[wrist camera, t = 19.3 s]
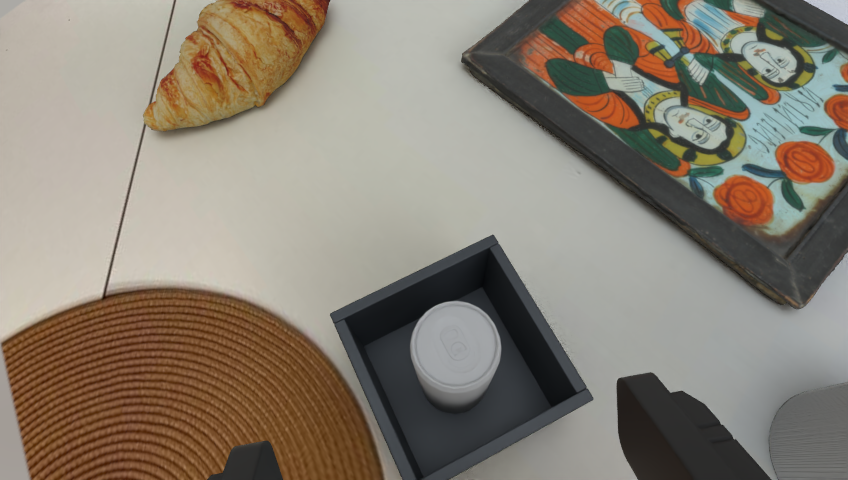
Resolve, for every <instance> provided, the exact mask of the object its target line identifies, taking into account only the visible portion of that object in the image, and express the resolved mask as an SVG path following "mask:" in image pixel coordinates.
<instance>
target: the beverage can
mask: <svg viewBox="0 0 848 480" xmlns="http://www.w3.org/2000/svg"><path fill="white" fill-rule="evenodd" d="M410 352H411V359H412V362H413V365H414V368H415V371H416V374H417V377H418V380H419V382H420V385H421V388H422V391H423V394H424V395H425V397H426V399H427V400H428V402H429V403H430V404H432V405H433V406H434V407H435V408H437V409H439V410H441V411H443V412H446V413H451V414H456V413H463V412H466V411H469V410H471V409H472V408H473V407H475V406H476V405H478V403H479V402H480V401H481V400H482V398H483V397H484V395H485V393H486V390H487V388H488V386H489V384H490V382H491V380H492V378H493V376H494V374H495V371H496V369H497V367H498V364H499V362H500V356H501V341H500V336H499V334H498V331H497V329H496V326H495V324H494V323H493V321H492V320H491V319H490V317H489V316H488V315H487V314H486V313H485V312H484V311H482V310H481V309H480V308H479V307H476V306H474V305H472V304H470V303H466V302H460V301H451V302H444V303H441V304H439V305H436V306H434V307H433V308H431V309H430V310H428V311H427V312H426V313H425V314H424V315H423V316H422V317H421V318H420V319H419V321H418V322H417V324H416V326H415V328H414V330H413V332H412V337H411V342H410Z"/></svg>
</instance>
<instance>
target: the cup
mask: <svg viewBox="0 0 848 480" xmlns="http://www.w3.org/2000/svg"><path fill="white" fill-rule="evenodd" d="M769 441H770V442H769V445H770V447H769V448H770V453H771V454H770V455H771V459H772V463H773V467H774V470H775V471H776V472H775V473H776V474H777V476H778V479H779V480H848V382H846V383H842V384H837V385H833V386H828V387H824V388H819V389H814V390H810V391H806V392H803V393H801V394H798V395H796V396H794V397H793V398H790V400H788V401H787V402H786V403H785V404H783V406H782V407H781V408H780V409H779V411H778V413H777V415H776V416H775V418H774V421H773V423H772V426H771V430H770V438H769Z"/></svg>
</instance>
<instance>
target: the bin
mask: <svg viewBox="0 0 848 480" xmlns="http://www.w3.org/2000/svg"><path fill="white" fill-rule="evenodd" d="M451 301H460V302H466V303H470V304H472V305H474V306H476V307H479V308H480V309H481V310H482V311H484V312H485V313H486V314H487V315H488V316H489V317H490V319H491V320H492V321H493V323H494V324H495V326H496V329H497V331H498V334H499V336H500V341H501V356H500V362H499V364H498V367H497V369H496V371H495V374H494V376H493V378H492V380H491V382H490V384H489V386H488V388H487V390H486V393H485V395H484V397H483V398H482V400H481V401H480V402H479V403H478V405H476V406H475V407H473V408H472V409H471V410H469V411H466V412H463V413H456V414H451V413H446V412H443V411H441V410H439V409H437V408H435V407H434V406H433V405H432V404H430V403H429V402H428V400H427V399H426V397H425V395H424V394H423V391H422V388H421V385H420V382H419V380H418V377H417V374H416V371H415V368H414V365H413V362H412V359H411V352H410V342H411V337H412V332H413V330H414V328H415V326H416V324H417V322H418V321H419V319H420V318H421V317H422V316H423V315H424V314H425V313H426V312H427V311H428V310H430V309H431V308H433V307H434V306H436V305H439V304H441V303H444V302H451ZM330 316H331V318H332V320H333V323H334V324H335V327H336V329H337V332H338V334H339V336H340V339H341V341H342V343H343V345H344V348H345V350H346V352H347V354H348V357H349V359H350V361H351V364H352V366H353V368H354V370H355V373H356V375H357V377H358V379H359V382H360V384H361V386H362V389H363V391H364V393H365V395H366V398H367V400H368V402H369V404H370V407H371V409H372V411H373V414H374V416H375V418H376V420H377V423H378V425H379V427H380V429H381V432H382V434H383V436H384V439H385V441H386V443H387V445H388V448H389V450H390V452H391V454H392V457H393V459H394V461H395V464H396V466H397V468H398V470H399V473H400V475H401V477H402V479H403V480H449V479H451V478H453V477H454V476H456V475H458V474H460V473H462V472H463V471H465V470H467V469H469V468H471V467H472V466H474V465H476V464H478V463H480V462H482V461H483V460H485V459H487V458H489V457H491V456H492V455H494V454H496V453H498V452H500V451H501V450H503V449H505V448H507V447H509V446H511V445H512V444H514V443H516V442H518V441H520V440H521V439H523V438H525V437H527V436H529V435H530V434H532V433H534V432H536V431H538V430H539V429H541V428H543V427H545V426H547V425H549V424H550V423H552V422H554V421H556V420H558V419H559V418H561V417H563V416H565V415H567V414H568V413H570V412H572V411H574V410H576V409H578V408H579V407H581V406H583V405H585V404H587V403H588V402H590V401H592V400H593V397H592V395H591V393H590V392H589V390H588V389H586V388H587V387H586V385H585V383H584V382H583V380H582V379H581V377H580V375H579V374H578V372H577V370H576V369H575V367H574V365H573V364H572V362H571V361H570V359H569V357H568V356H567V354H566V352H565V351H564V349H563V347H562V346H561V344H560V343H559V341H558V339H557V338H556V336H555V334H554V333H553V331H552V329H551V328H550V326H549V325H548V323H547V321H546V320H545V318H544V316H543V315H542V313H541V312H540V310H539V308H538V307H537V305H536V303H535V302H534V300H533V298H532V297H531V295H530V294H529V292H528V290H527V289H526V287H525V285H524V284H523V282H522V280H521V279H520V277H519V276H518V274H517V272H516V271H515V269H514V267H513V266H512V264H511V262H510V261H509V259H508V258H507V256H506V254H505V253H504V251H503V249H502V248H501V246H500V244H498V241H497V239H496V238H495V236H494V235H491V236H489V237H487V238H485V239H483V240H481V241H479V242H477V243H475V244H472V245H470V246H468V247H466V248H464V249H462V250H460V251H458V252H456V253H454V254H452V255H450V256H448V257H446V258H444V259H442V260H440V261H437V262H435V263H433V264H431V265H429V266H427V267H425V268H423V269H421V270H419V271H417V272H415V273H413V274H411V275H409V276H407V277H404V278H402V279H400V280H398V281H396V282H394V283H392V284H390V285H388V286H386V287H384V288H382V289H380V290H378V291H376V292H374V293H372V294H369V295H367V296H365V297H363V298H361V299H359V300H357V301H355V302H353V303H351V304H349V305H347V306H345V307H343V308H341V309H339V310H337V311H334V312H332V313H331V314H330Z"/></svg>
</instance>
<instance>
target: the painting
mask: <svg viewBox="0 0 848 480" xmlns="http://www.w3.org/2000/svg"><path fill="white" fill-rule="evenodd" d="M461 62H462V63H465V64H466V65H467V66H469V67H470V70H471V73H472V74H473V75H474V76H475V77H476V78H477V79H479V80H480V81H481V82H483V83H484V84H486V85H487V86H488V87H490V88H491V89H492V90H494V91H495V92H496V93H497V94H499V95H500V96H501V97H503V98H504V99H506V100H507V101H509V102H510V103H512V104H513V105H515V106H516V107H518V108H519V109H521V110H522V111H523V112H525V113H526V114H528V115H529V116H531V117H532V118H533V119H535V120H536V121H537V122H539V123H540V124H541V125H543V126H544V127H546V128H547V129H548V130H550V131H551V132H552V133H554V134H555V135H557V136H558V137H559V138H561V139H562V140H563V141H565V142H566V143H567V144H569V145H570V146H571V147H573V148H574V149H576V150H577V151H579V152H580V153H582V154H584V155H585V156H587V157H588V158H590V159H591V160H593V161H594V162H595V163H597V164H598V165H599V166H601V167H602V168H603V169H605V170H606V171H607V172H608V173H609V174H610V175H611V176H612V177H614V178H616V179H617V180H618V182H619V183H620V184H622V185H623V186H625V187H626V188H628V189H630V190H631V191H633V192H634V193H636V194H638V195H639V196H640V197H642V198H643V199H644V200H646V201H647V202H648V203H650V204H651V205H652V206H653V207H655V208H656V209H658V210H659V211H661V212H662V213H663V214H665V215H666V216H667V217H668V218H669V219H671V220H672V221H673V222H675V223H676V224H677V225H678V226H680V227H681V228H682V229H684V230H685V231H686V232H687V233H688V234H690V235H691V236H692V237H693V238H694V239H696V240H697V241H698V242H700V243H701V244H702V245H703V246H704V247H706V248H707V249H708V250H709V251H711V252H712V253H713V254H714V255H716V256H717V257H718V258H720V259H721V260H722V261H723V262H724V263H726V264H727V265H728V266H730V267H731V268H732V269H734V270H735V271H736V272H738V273H739V274H740V275H741V276H742V277H743V278H745V279H746V280H747V281H749V282H750V283H751V284H752V285H753V286H755V287H756V288H758V289H759V290H760V291H761V292H763V293H764V294H766V295H767V296H768V297H770V298H771V299H772V300H774V301H775V302H777V303H778V304H780V305H784V304H786V303H788V304H789V305H790V306H791V307H793V308H795V309H801V308H803V307H804V306H806V305H807V303H808V302H809V301H810V300H811V299H812V298H813V296H814V295H815V293H816V292H817V290H818V289H819V287H820V286H821V284H822V283H823V282H824V280H825V279H826V278H827V276H829V275H830V273H831V272H832V271H833V270H834V269H835V267H836V266H837V265H838V264H839V263H840V261H841V260H842V259H843V257H844V255H845V254H846V253H848V25H847V24H845V23H843V22H842V21H840V20H838V19H836V18H834V17H833V16H831V15H830V14H827V13H826V12H824V11H822V10H820V9H818V8H817V7H815V6H813V5H811V4H809V3H808V2H805V1H804V0H529V1H528V2H527V3H526V4H524V5H523V6H522V7H521V8H520V9H518V10H517V11H516V12H515V13H513V14H512V15H511V16H510V17H509V18H508V19H506V20H505V21H504V22H503V23H502V24H501V25H500V26H498V27H496V28H495V29H494V30H493V31H492V32H490V33H489V34H488V35H486V36H485V37H484V38H482V39H481V40H480V41H479V42H477V43H476V44H475V45H474V46H472V47H471V48H469V49H468V50H466V51H465V52H464V53H463V54H462V60H461Z"/></svg>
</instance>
